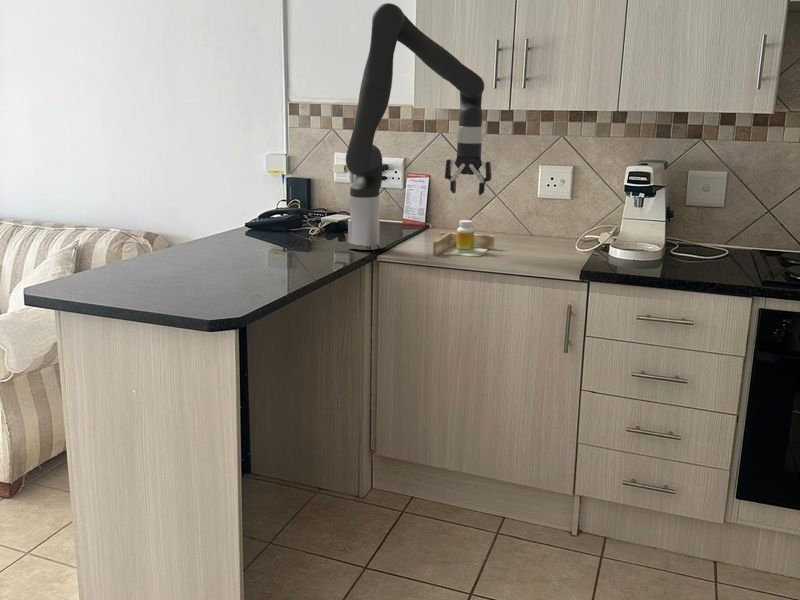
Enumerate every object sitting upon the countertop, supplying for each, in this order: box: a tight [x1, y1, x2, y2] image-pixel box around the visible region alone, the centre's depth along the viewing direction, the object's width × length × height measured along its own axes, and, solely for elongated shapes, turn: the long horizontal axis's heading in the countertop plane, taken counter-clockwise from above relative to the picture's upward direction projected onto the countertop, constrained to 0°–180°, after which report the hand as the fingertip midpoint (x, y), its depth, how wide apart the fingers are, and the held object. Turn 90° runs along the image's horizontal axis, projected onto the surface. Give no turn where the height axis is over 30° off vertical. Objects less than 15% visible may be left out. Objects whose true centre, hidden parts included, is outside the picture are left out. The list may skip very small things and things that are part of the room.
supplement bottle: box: [456, 219, 475, 253], centre depth 252 cm, size 5×5×10 cm
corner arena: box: [432, 231, 495, 258], centre depth 253 cm, size 18×17×4 cm
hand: (467, 193), depth 249 cm, fingers open, 8 cm apart
